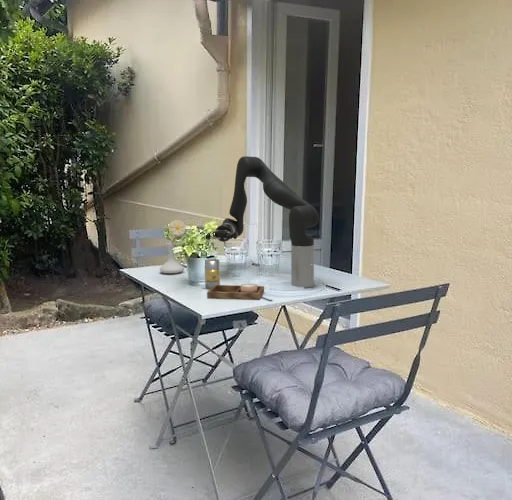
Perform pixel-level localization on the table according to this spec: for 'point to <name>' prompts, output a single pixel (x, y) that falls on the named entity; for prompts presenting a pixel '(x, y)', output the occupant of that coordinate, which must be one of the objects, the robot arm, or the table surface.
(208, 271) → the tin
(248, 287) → the ramekin
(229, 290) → the tray
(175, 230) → the flower in vase
